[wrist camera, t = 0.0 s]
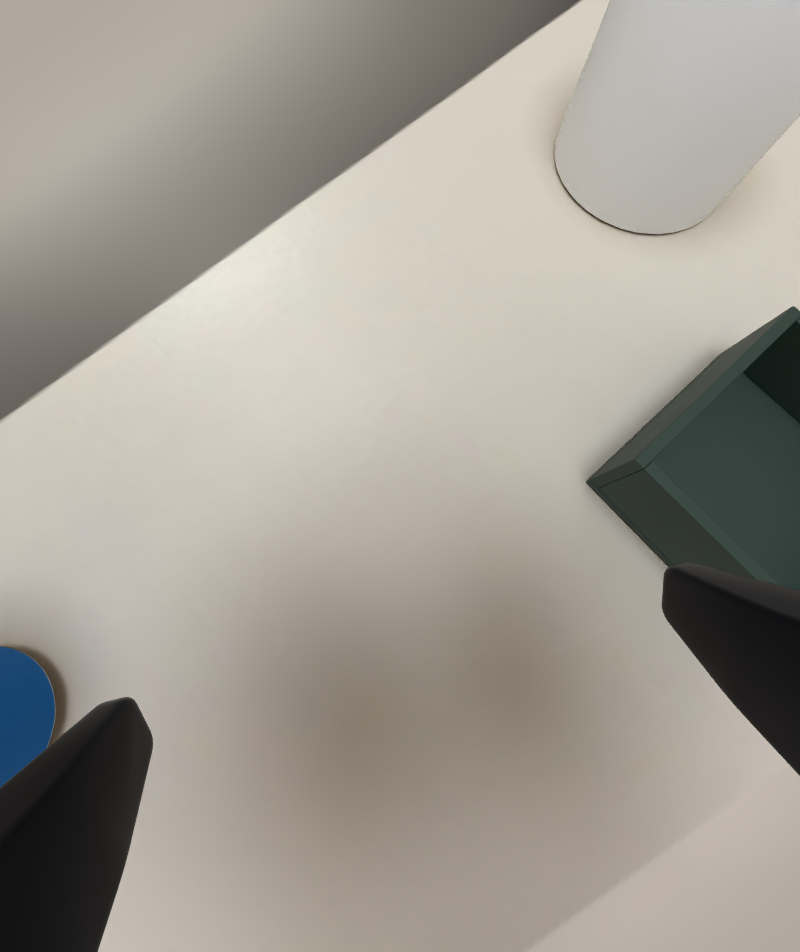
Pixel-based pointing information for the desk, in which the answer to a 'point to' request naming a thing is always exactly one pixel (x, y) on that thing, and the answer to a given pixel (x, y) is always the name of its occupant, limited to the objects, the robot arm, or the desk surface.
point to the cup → (678, 107)
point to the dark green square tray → (722, 464)
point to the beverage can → (23, 711)
